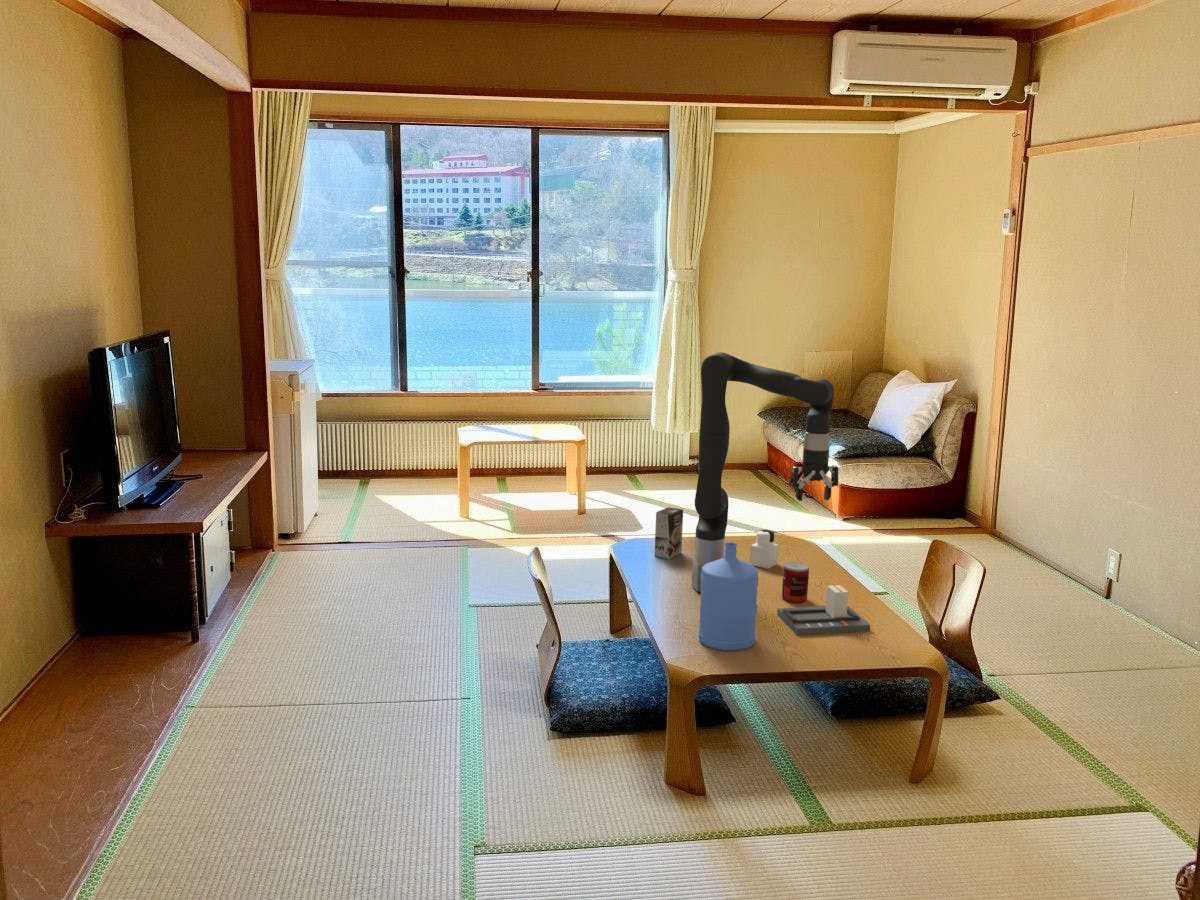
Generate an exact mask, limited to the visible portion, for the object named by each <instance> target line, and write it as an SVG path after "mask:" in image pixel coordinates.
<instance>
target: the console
mask: <svg viewBox="0 0 1200 900" xmlns="http://www.w3.org/2000/svg"><path fill="white" fill-rule="evenodd" d="M825 609H826V605H822V606H821V605H820V606H819V605H817V606H801V607H800V606H799V607H798V606H797V607H780V608H777V611H776V612H777V613H776V614H777V617H779V619H781V620H782V622H784V623H785V625H786V626H788V628H790V630H791V631H792V632H793V633H794V634H795V635H796V636H807V635H809V636H811V635H824V634H825V635H826V634H827V635H828V634H845V633H861V632H862V633H863V632H864V631H865V632H870V631H871V624H870V623H869V622H868V621H867V620H865V619H864V618H863V617H862V616H861V615H860V614H858V613H857V612H856V611H855V610H854V609H853V608H851V606H849V605H847V617H836V618H832V617H831V616H830V615H829V614H828V613H827V612H825Z"/></svg>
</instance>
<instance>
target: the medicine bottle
mask: <svg viewBox="0 0 1200 900" xmlns="http://www.w3.org/2000/svg"><path fill="white" fill-rule="evenodd" d="M755 534H756V538H755V543H753V544H751V545H750V558H749V559H750V560H749V564H750V565H752V566H754V567H759V568H762V569H768V570H769V569H771V568H772V567H774V566H776V565H777V564H778V563H779V562H778V561H779V560H778V557H779V544H778V543H775V533H774V531H772V530H770V529H759V530H757V531H756V533H755Z"/></svg>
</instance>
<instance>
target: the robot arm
mask: <svg viewBox="0 0 1200 900" xmlns="http://www.w3.org/2000/svg"><path fill="white" fill-rule="evenodd" d="M700 381H701V382H700V383H701V407H700V419H699V420H700V424H699V434H698V436H699V437H698V476H697V483H696V490H695V491H696V492H695V497H694V509H695V511H696V513H697V514H698V522H697V525H696V527H695V542H694V543H695V544H694V545H695V546H694V547H695V548H694V557H693V558H692V569H691V571H692V574H691V575H692V576H691V586H692V588H693V589H694V591H695V592H697V593H701V573H702V567H703V566H704V565H705V564H707V563H709V562H713V561H716V560H719V559H722V558H724V557H725V548H726V546H725V542H726V530H727V527H728V519H729V518H728V515H729V496H728V494H727V492H726V490H725V489H724V488H723V487H722V476H723V471H724V466H725V464H726V461H727V456H728V452H729V445H730V433H731V432H730V429H731V428H730V420H729V415H728V410H727V406H726V405H727V404H726V393H727V384H728V382H736V383H737V382H739V383H743V384H749V385H751V386H754V387H757V388H759V389H761V390H764V391H766V392H769V393H772V394H775V395H779V396H784V397H788V398H793V399H796V400H798V401H801V402H803V403H805V404H809V409H808V410H809V411H808V413H807V414H806V419H805V431H804V437H803V442H802V443H803V445H802V446H803V450H802V451H803V452H802V465H801V466H795V465H792V467H791V473H790V482H789V485H790V486H792V487H794V488H795V498H796V500H797V501H799V502H802V501H803V487H805V485H806V484H808V483H809V481H810V482H815V481H817V482H820V481H821V482H823V484H824V485H825V486H824V493H823V499H824V500H825V501H830V499H831V497H832V488H833V487H838V486H839V467H838V466H837V465H835V464H832V465H829V459H830V445H831V442H830V441H831V439H830V430H831V413H832V409H833V404H834V398H835V397H834V396H835V395H834V394H835V390H834V385H833V384H832V383H831V382H830V381H829V380H827V379H826V378H825V379H824V378H820V379H817V380H811V379H807V378H803V377H801V376H800V375H798V374H797V373H792V372H788V371H784V370H779V369H774V368H769V367H766V366H761V365H758V364H754V363H751V362H749V361H745V360H743V359H740V358H738V357H735V356H733V355H731V354H729V353H726V352H719V351H718V352H715V353H712V354H709V355H708V356H706V357H705V358H704V359H703V361H702V362H701V367H700ZM801 472H802V475H801V476H800V477H799V475H800V473H801ZM828 472H829V473H830V476H831V477H830V479H829V478H828V476H827V474H828ZM798 478H799V480H798ZM830 480H831V481H830Z"/></svg>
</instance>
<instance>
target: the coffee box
mask: <svg viewBox="0 0 1200 900" xmlns="http://www.w3.org/2000/svg"><path fill="white" fill-rule="evenodd" d="M683 522H684V509H683V508H682V509H681V508H677V507H675V508H674V507H669V506H668V507H665V508H664V509H663V508H662V509H660V510H657V511H656V512H655V529H654V530H655V533H654V557H657V556H658V558H662V557H663V558H662V559H666V558H667V559H666V560H671V559H672V557H673V558H675V557H677V556H678V554H679V555H680V553H681V554H682V551H683V550H682V549H683V526H684V525H683ZM676 555H677V556H676ZM674 556H675V557H674ZM670 558H671V559H670Z"/></svg>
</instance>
